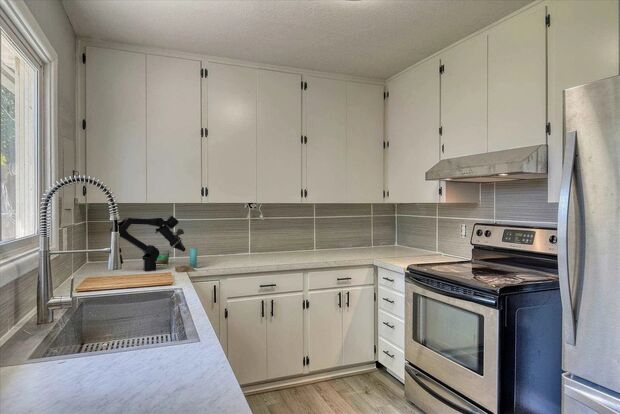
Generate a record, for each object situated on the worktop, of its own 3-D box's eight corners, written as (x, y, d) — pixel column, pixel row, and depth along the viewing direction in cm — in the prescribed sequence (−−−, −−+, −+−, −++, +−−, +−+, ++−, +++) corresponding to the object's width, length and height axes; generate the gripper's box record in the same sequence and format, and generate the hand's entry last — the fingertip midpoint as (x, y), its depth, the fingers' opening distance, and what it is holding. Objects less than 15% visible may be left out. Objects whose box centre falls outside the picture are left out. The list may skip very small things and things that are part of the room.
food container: (150, 265, 259) (150, 250, 259) (151, 264, 265) (151, 250, 265) (169, 265, 262) (169, 250, 262) (170, 264, 268) (170, 249, 268)
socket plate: (179, 272, 231) (179, 268, 231) (175, 270, 238) (175, 266, 238) (193, 271, 236) (193, 267, 236) (189, 269, 243) (189, 265, 243)
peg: (190, 269, 245) (191, 248, 245) (188, 268, 249) (189, 248, 249) (197, 268, 248) (198, 248, 248) (195, 267, 251) (195, 248, 251)
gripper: (175, 225, 237) (193, 242, 240) (177, 224, 255) (194, 240, 258) (161, 237, 235) (180, 255, 238) (165, 236, 253) (182, 252, 256)
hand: (184, 250), depth 247 cm, fingers open, 9 cm apart
